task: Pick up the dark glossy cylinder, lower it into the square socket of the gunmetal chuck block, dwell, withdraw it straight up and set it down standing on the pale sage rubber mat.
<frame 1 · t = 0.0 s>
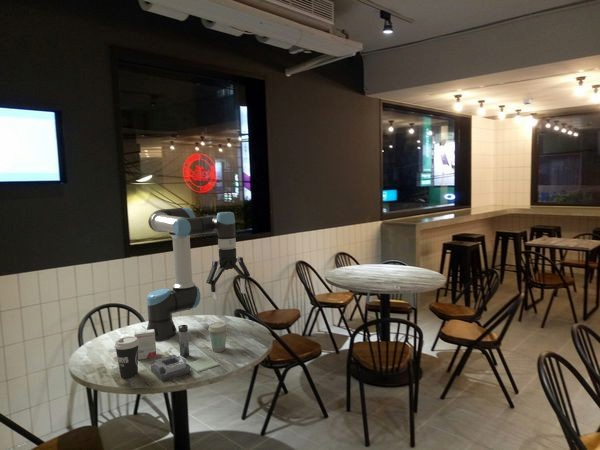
hand: (229, 296, 186), 28 cm above the table, fingers open, 13 cm apart
coffee cup: (218, 350, 198), on the table
chuck block: (170, 371, 177), on the table
mat: (202, 364, 183), on the table
dark glossy cylinder: (184, 356, 192), on the table
coffee cup 2: (129, 375, 175), on the table
ink box: (146, 356, 193), on the table
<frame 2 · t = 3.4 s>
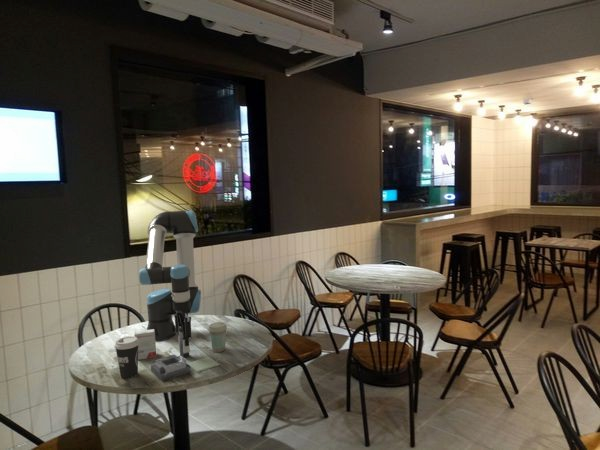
hand: (184, 350, 192), 3 cm above the table, fingers closed on dark glossy cylinder, 4 cm apart
dark glossy cylinder: (184, 356, 192), on the table, touching gripper
everything else where it was.
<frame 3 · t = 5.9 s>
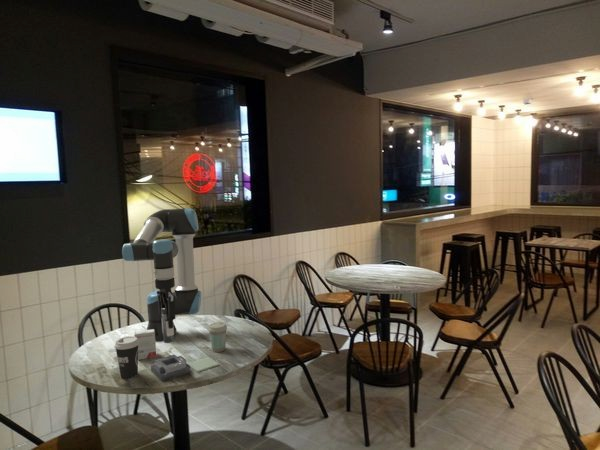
hand: (168, 333, 175), 16 cm above the table, fingers closed on dark glossy cylinder, 4 cm apart
dark glossy cylinder: (168, 341, 175), point 13 cm above the table, touching gripper
everything else where it was.
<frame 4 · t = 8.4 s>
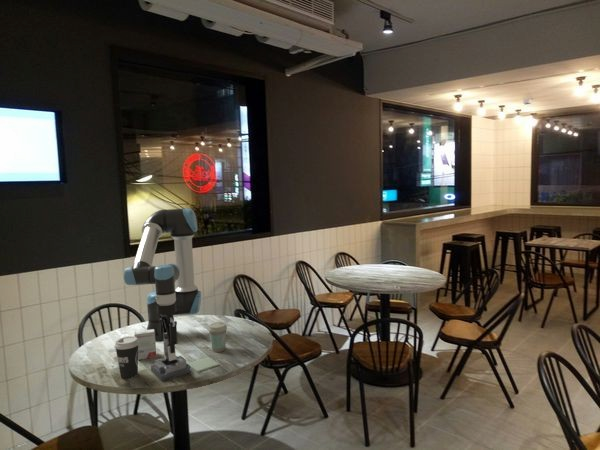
hand: (170, 357, 176), 6 cm above the table, fingers closed on dark glossy cylinder, 4 cm apart
dark glossy cylinder: (170, 365, 177), point 3 cm above the table, touching gripper
everything else where it was.
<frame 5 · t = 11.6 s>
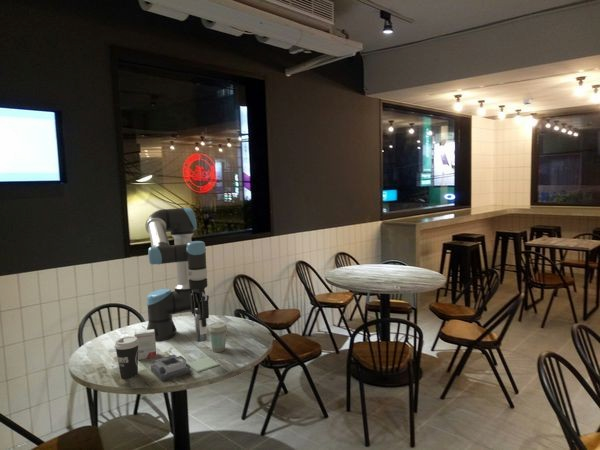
hand: (201, 332, 181), 14 cm above the table, fingers closed on dark glossy cylinder, 4 cm apart
dark glossy cylinder: (201, 340, 181), point 11 cm above the table, touching gripper
everything else where it was.
when the fingers open (4 cm above the table, at t = 13.6 s): dark glossy cylinder stays where it is, resting on mat.
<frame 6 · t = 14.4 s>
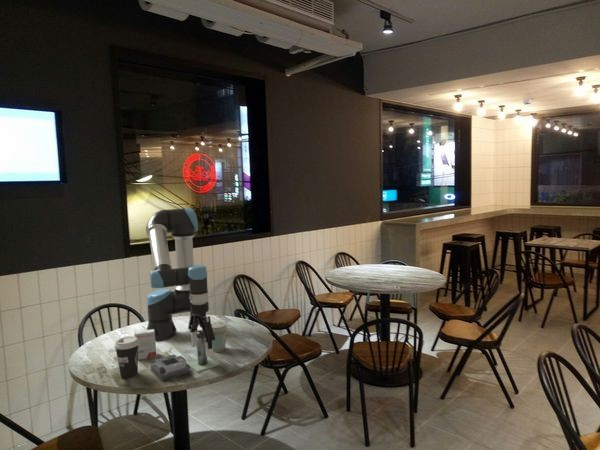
hand: (202, 350, 182), 6 cm above the table, fingers open, 13 cm apart
dark glossy cylinder: (202, 363, 182), point 1 cm above the table, touching mat
everything else where it was.
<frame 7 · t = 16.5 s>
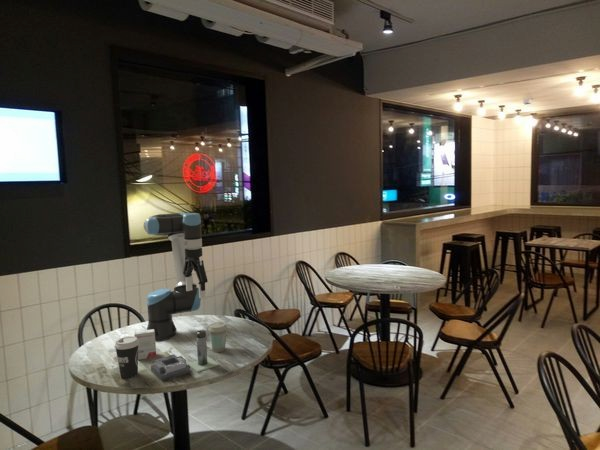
hand: (195, 293, 193), 27 cm above the table, fingers open, 13 cm apart
nothing on the table moved.
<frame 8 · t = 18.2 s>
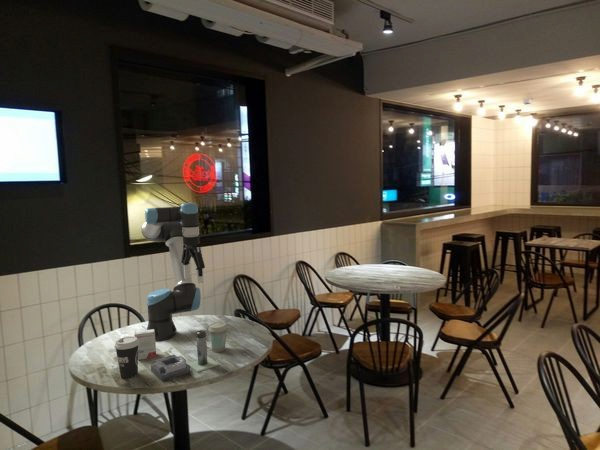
hand: (193, 280, 201), 32 cm above the table, fingers open, 13 cm apart
nothing on the table moved.
at the end: dark glossy cylinder inside the target area on the mat (0.0 cm from its centre), point 0.6 cm above the mat's base; dark glossy cylinder tilted 0°; the gripper is holding nothing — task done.
